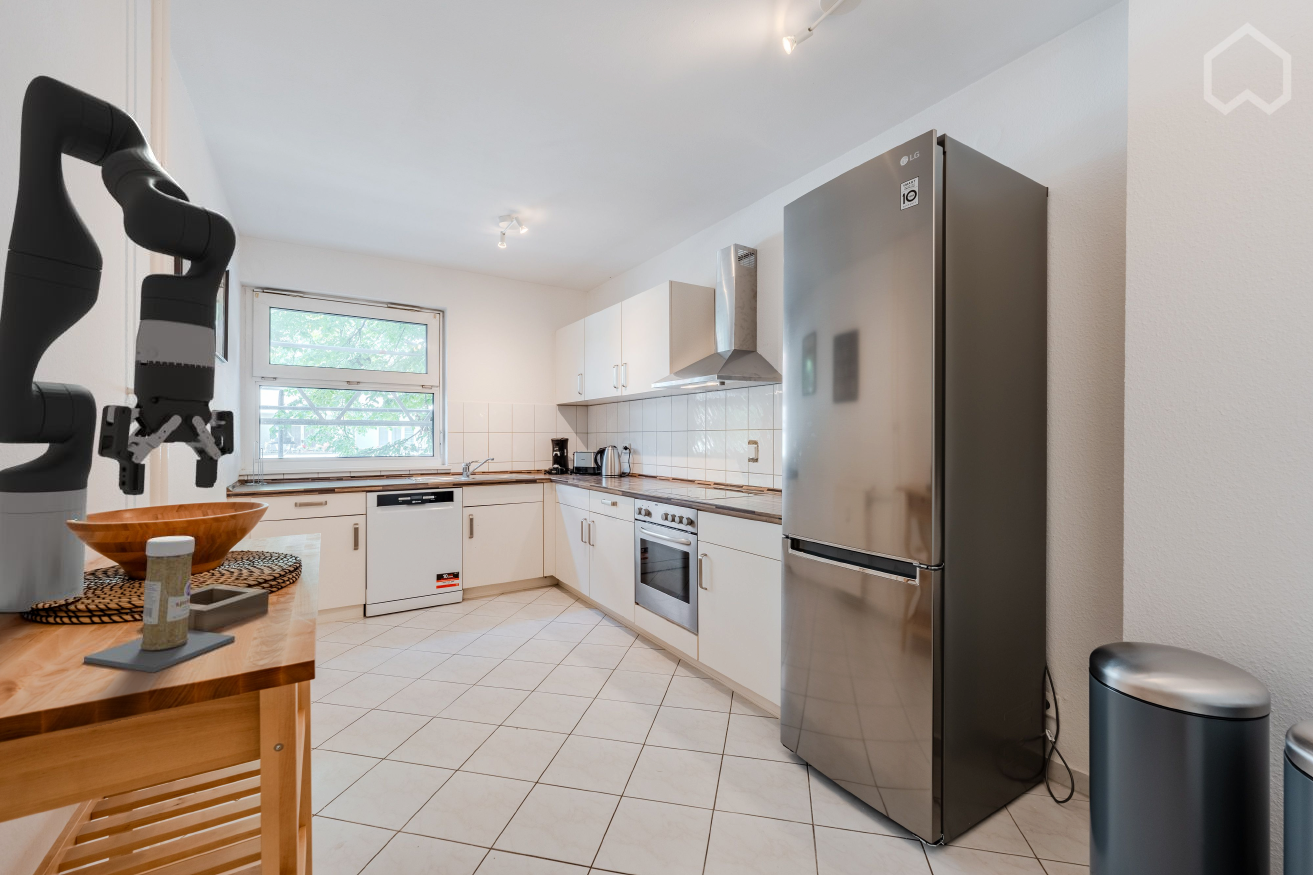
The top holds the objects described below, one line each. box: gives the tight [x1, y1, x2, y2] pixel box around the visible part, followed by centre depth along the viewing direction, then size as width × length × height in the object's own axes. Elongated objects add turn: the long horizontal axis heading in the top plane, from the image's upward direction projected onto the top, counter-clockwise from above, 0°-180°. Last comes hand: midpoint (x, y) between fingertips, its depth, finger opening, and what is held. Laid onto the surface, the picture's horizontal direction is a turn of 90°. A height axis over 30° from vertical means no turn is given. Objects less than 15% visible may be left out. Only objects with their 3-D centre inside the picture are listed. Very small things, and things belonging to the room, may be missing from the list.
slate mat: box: [83, 630, 236, 674], centre depth 69 cm, size 10×10×1 cm
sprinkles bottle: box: [141, 535, 196, 650], centre depth 69 cm, size 5×5×14 cm
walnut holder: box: [188, 583, 270, 632], centre depth 81 cm, size 10×10×3 cm
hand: (170, 490), depth 69 cm, fingers open, 8 cm apart
